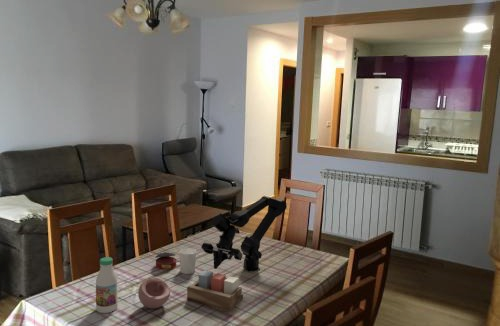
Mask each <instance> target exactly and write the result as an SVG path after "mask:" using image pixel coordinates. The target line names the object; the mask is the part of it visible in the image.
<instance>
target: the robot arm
mask: <svg viewBox="0 0 500 326" xmlns="http://www.w3.org/2000/svg"><path fill="white" fill-rule="evenodd" d="M287 206H288V205H287V202H286V201H285V200H282V199H280V198H276V197H275V198H272V197H270V196H267V195H263V196H262V197H261V198H259V199H258V200H257V201H255V202H254V203H252V204H250V205H249V206H247V207H246V208H244V209H241V210H237V211H235V212H232V213H231V214H230V215H228V216H226V215H224V214H223V213H219V214H218V215H216V216H214V217H213V218H212V219H211V221H210V224H211V226H212V227H213V228H214V229H216V230H217V231H218V232H220V233H221V235H219V241H218V243H216V244H215V245H216V246H214V245H213V244H212V243H209V242H203V243H201V246H200V248H201V249H202V251H203V252H204V253H206V254H210V255H212V254H213V269H215V270H216V269H218V268H219V266H220V265H221V264H222V263H223V262H224V261H225V260H232V258H234V259H235V260H238V261H242V260H243V265H242V268H244V269H245V270H246V271H247V272H255V271H259V270H261V267H259V266H260V265H259V262H260V259H261V258H262V256H263V254H262V252H261V251H260V247H261V241H262V239H263V238H264V237H265V235H266V233H267V232H268V230H269V229H270V228H271V226H272V225H273V223H274V221H275V220H276V218H278V217H279V216H282V214H283V213H284V212H285V211H286V210H287ZM265 208H267V212H266V214H265V215H264V217H263V219H262V220H261V222H259V224H258V226H257V227H256V228H255V230H254V231H253V233H252V234H251V236H244V238H243V240H242V241H241V242H240V243H241V244H240V249H239V248H234V247H233V246H234V242H233V241H234V239H235V236H236V234H240V230H239V228H244V226H246V225H248V223H249V221H250V219H251V218H252V217H253V216H255V215H256V214H258V213H259V212H261V211H262V210H264V209H265ZM243 256H244V259H243Z"/></svg>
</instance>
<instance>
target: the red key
mask: <svg viewBox="0 0 500 326" xmlns="http://www.w3.org/2000/svg"><path fill="white" fill-rule="evenodd" d="M226 277H227V276H226V274H223V273H220V272H219V273H218V272H217V273H216V274H213V277H211V290H213V291H217V292H220V291H221V290H222V289H223V288H224V281H225V280H226V279H227V278H226Z"/></svg>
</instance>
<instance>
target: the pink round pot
mask: <svg viewBox="0 0 500 326" xmlns="http://www.w3.org/2000/svg"><path fill="white" fill-rule="evenodd" d="M137 292H138V294H137V295H138V300H139V302H140V303H141V304H142V306H144V307H145V308H148V309H159V308H161V307H162V306H163V305H165V304H166V303H167V302H168V300H169V298H170V296H171V289H170V287H169V285H168V284H167V282H165V281H164V280H163V279H161V278H158V277H148V278H145V279H144V280H143V281H142V283H141V284H140V285H139V288H138V291H137ZM163 307H164V306H163Z"/></svg>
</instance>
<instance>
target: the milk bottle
mask: <svg viewBox="0 0 500 326" xmlns="http://www.w3.org/2000/svg"><path fill="white" fill-rule="evenodd" d="M113 259H114V258H112V257H111V256H109V257H108V256H107V257H106V256H105V257H102V258H100V259H99V266H100V267H99V271H98V274H97V276H96V278H95V307H96V308H95V309H96V311H97V313H100V314H109V312H110V313H112V311H113V312H114V311H116V310H117V309H116V308H118V276H117V273H116V272H115V270H114V266H113V261H114V260H113Z"/></svg>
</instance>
